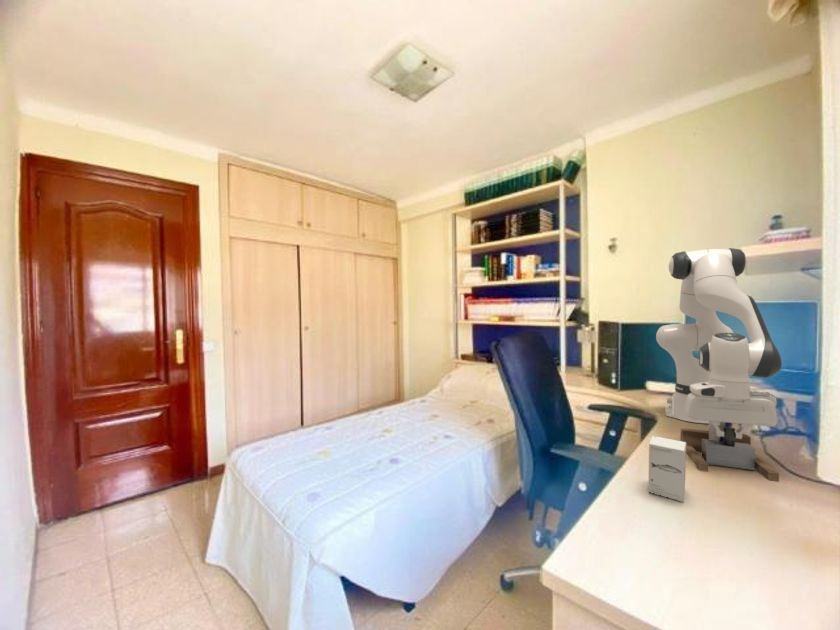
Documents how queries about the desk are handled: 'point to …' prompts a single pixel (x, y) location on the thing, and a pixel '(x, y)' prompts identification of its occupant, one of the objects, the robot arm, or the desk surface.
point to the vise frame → (696, 436)
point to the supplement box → (667, 467)
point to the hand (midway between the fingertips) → (728, 437)
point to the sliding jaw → (728, 451)
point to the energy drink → (713, 431)
